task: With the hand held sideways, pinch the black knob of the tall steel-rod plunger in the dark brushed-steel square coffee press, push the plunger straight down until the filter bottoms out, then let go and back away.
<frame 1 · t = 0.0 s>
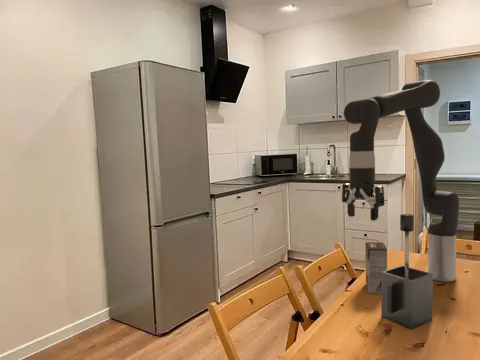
hand: (362, 218, 116), 29 cm above the table, tool pointing down, fingers open, 8 cm apart
plunger: (406, 250, 110), point 21 cm above the table, slide at 0.0 cm
coffee box: (376, 289, 135), on the table
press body: (406, 318, 112), on the table
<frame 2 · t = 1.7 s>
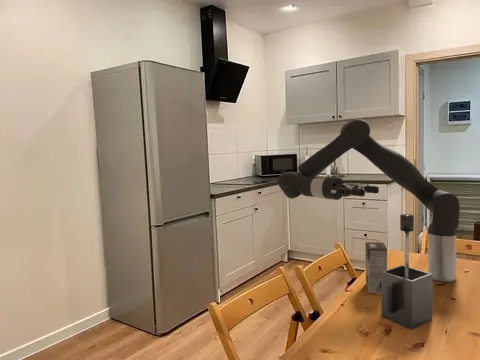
hand: (371, 191, 116), 37 cm above the table, tool horizontal, fingers open, 8 cm apart
nothing on the table moved.
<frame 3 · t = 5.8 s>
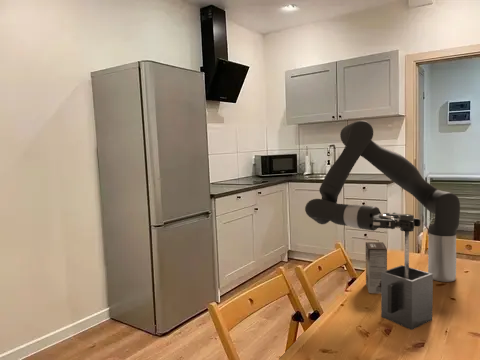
hand: (416, 224, 107), 29 cm above the table, tool horizontal, fingers closed on plunger, 3 cm apart
plunger: (406, 251, 110), point 21 cm above the table, slide at 0.0 cm, touching gripper
everything else where it was.
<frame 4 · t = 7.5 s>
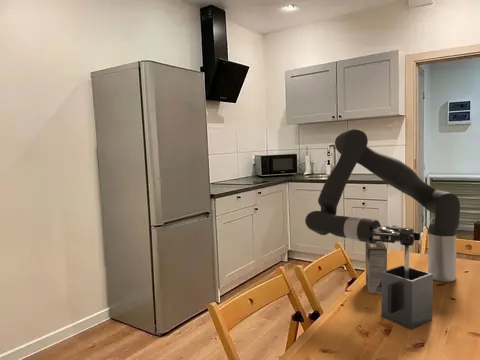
hand: (416, 238, 107), 25 cm above the table, tool horizontal, fingers closed on plunger, 3 cm apart
plunger: (406, 264, 110), point 16 cm above the table, slide at 4.1 cm, touching gripper
everything else where it was.
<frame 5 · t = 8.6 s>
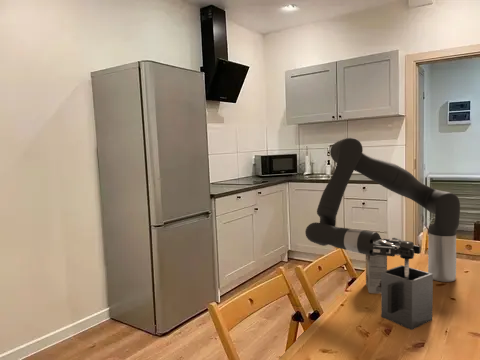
hand: (416, 251, 108), 21 cm above the table, tool horizontal, fingers closed on plunger, 3 cm apart
plunger: (406, 277, 111), point 13 cm above the table, slide at 8.1 cm, touching gripper
everything else where it was.
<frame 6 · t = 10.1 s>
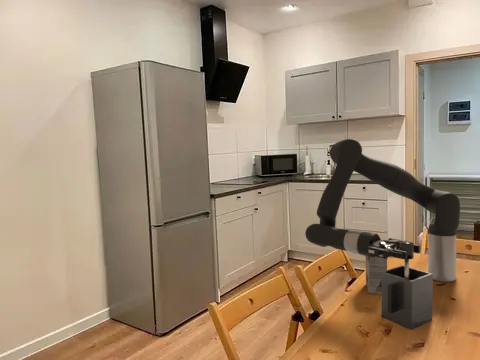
hand: (413, 252, 108), 21 cm above the table, tool horizontal, fingers open, 8 cm apart
plunger: (406, 277, 111), point 12 cm above the table, slide at 8.2 cm
everything else where it was.
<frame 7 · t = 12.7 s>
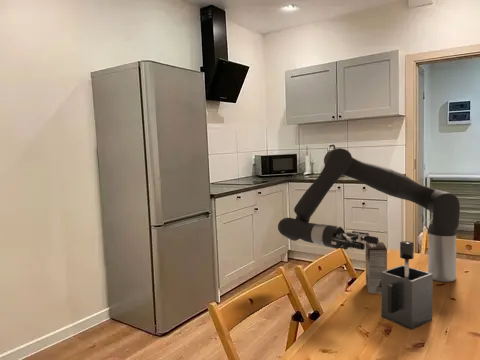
hand: (371, 243, 118), 21 cm above the table, tool horizontal, fingers open, 8 cm apart
nothing on the table moved.
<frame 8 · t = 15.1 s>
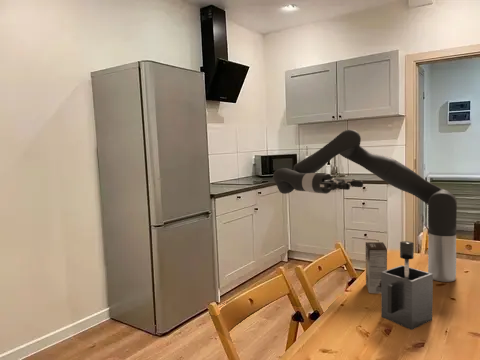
hand: (356, 185, 129), 38 cm above the table, tool horizontal, fingers open, 8 cm apart
nothing on the table moved.
at the end: plunger slide at 8.2 cm; the gripper is holding nothing; coffee box moved 0.2 cm from its start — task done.
